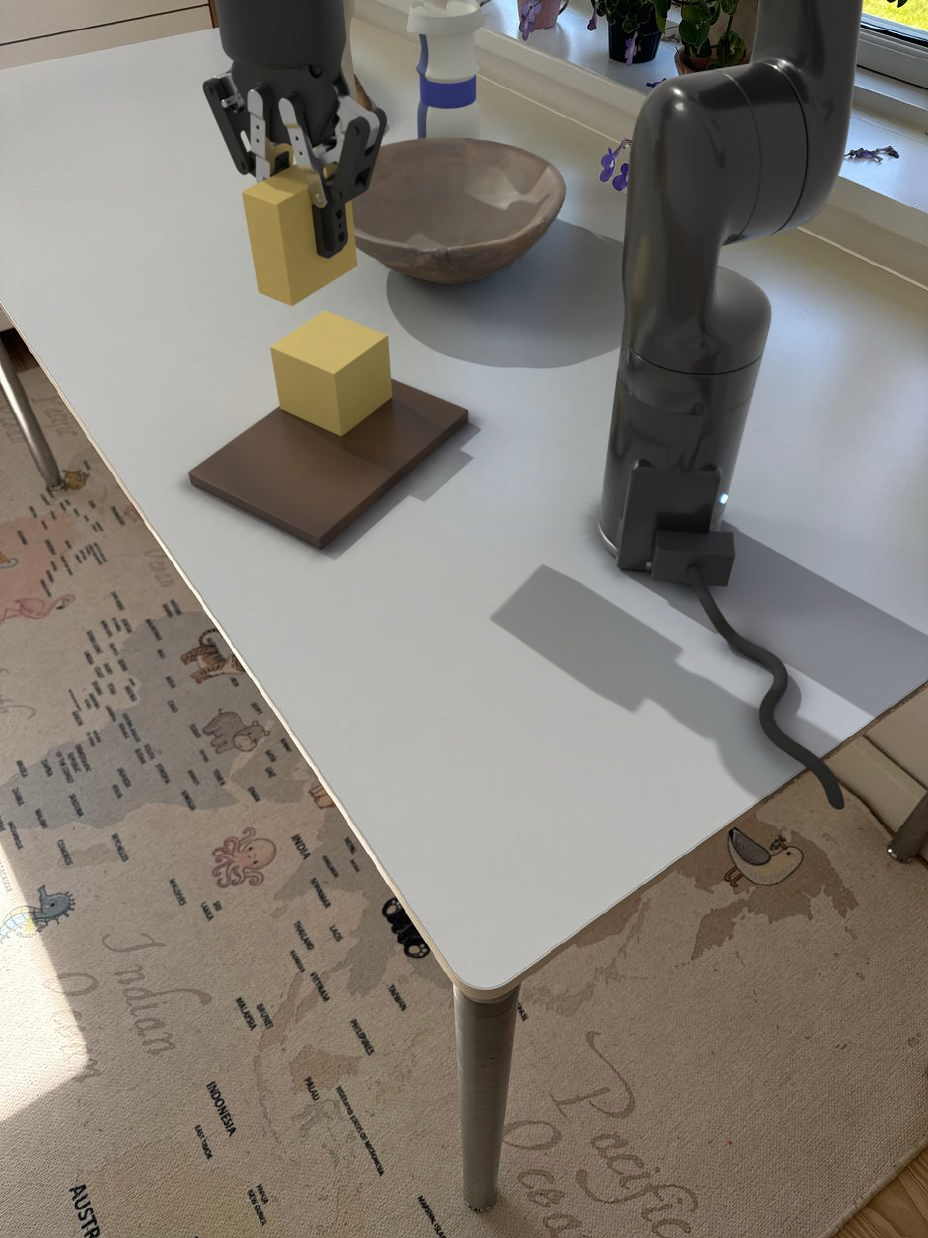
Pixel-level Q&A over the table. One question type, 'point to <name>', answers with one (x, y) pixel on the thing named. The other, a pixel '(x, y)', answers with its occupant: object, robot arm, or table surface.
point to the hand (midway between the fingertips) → (309, 244)
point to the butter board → (327, 463)
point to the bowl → (455, 207)
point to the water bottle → (447, 69)
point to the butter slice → (291, 238)
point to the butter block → (332, 372)
